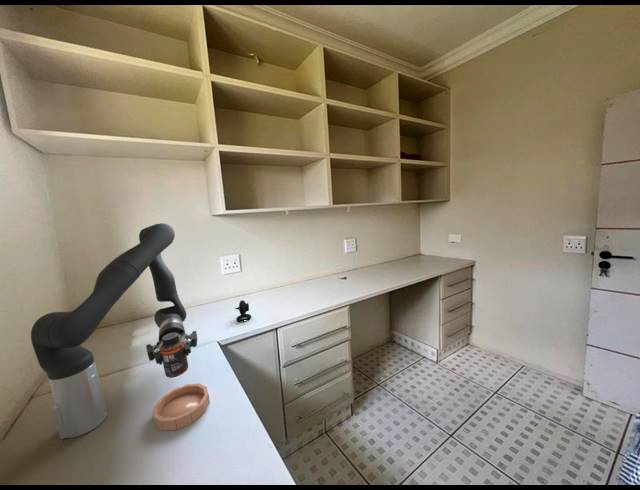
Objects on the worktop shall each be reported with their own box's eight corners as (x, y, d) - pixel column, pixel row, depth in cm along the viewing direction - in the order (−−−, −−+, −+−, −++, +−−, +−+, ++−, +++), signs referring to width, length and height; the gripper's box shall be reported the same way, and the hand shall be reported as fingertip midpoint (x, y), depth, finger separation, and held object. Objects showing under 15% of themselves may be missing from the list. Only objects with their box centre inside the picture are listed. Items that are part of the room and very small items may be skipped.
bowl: (154, 439, 66) (152, 429, 65) (156, 405, 78) (154, 396, 77) (212, 414, 73) (210, 404, 72) (205, 385, 85) (204, 377, 84)
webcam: (250, 321, 131) (248, 302, 129) (235, 323, 130) (232, 304, 128) (252, 314, 139) (249, 297, 137) (237, 316, 137) (235, 299, 136)
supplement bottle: (183, 362, 78) (177, 328, 76) (192, 369, 75) (186, 333, 73) (161, 373, 74) (154, 337, 72) (170, 381, 70) (163, 343, 68)
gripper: (144, 329, 81) (140, 354, 67) (194, 315, 88) (200, 335, 74) (148, 350, 82) (145, 379, 68) (197, 336, 90) (204, 359, 75)
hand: (174, 356), depth 71 cm, fingers closed on supplement bottle, 6 cm apart
